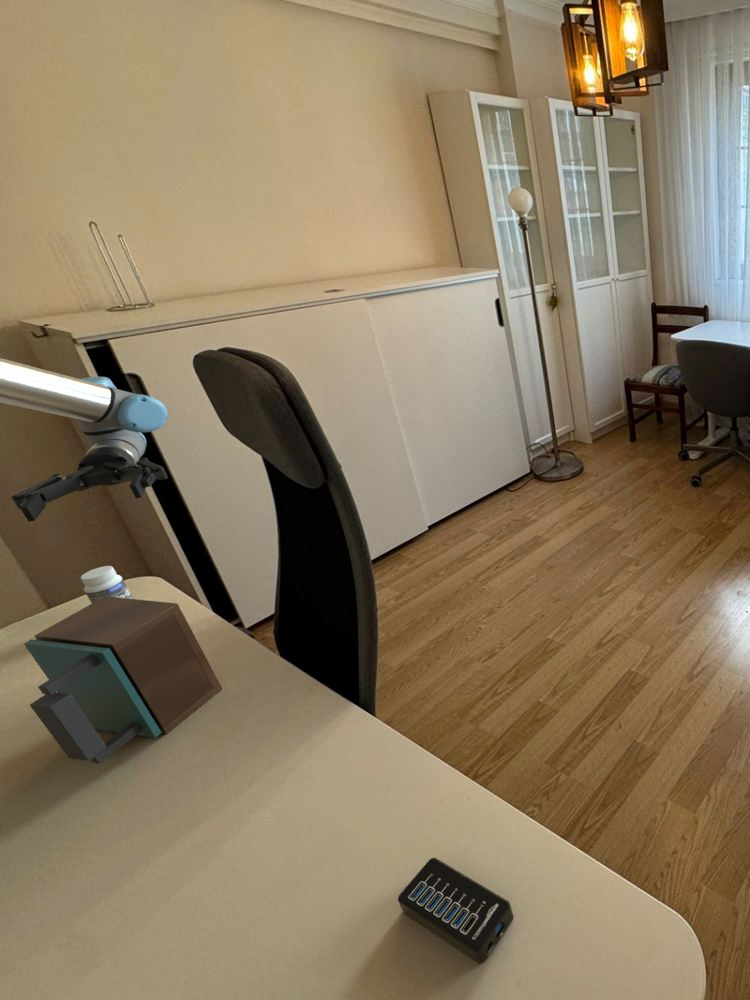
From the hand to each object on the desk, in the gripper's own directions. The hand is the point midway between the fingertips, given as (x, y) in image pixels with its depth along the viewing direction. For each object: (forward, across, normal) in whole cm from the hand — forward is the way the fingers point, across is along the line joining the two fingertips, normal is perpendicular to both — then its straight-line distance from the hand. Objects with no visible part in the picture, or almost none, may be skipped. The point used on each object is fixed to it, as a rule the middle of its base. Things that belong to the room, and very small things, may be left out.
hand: (83, 502), depth 99 cm
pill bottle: (+10, 0, -18) cm, 21 cm away
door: (+48, -4, -17) cm, 51 cm away
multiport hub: (+96, -38, -18) cm, 105 cm away
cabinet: (+43, -9, -18) cm, 47 cm away
